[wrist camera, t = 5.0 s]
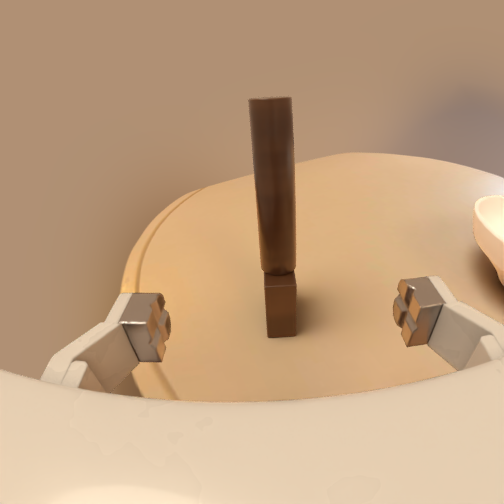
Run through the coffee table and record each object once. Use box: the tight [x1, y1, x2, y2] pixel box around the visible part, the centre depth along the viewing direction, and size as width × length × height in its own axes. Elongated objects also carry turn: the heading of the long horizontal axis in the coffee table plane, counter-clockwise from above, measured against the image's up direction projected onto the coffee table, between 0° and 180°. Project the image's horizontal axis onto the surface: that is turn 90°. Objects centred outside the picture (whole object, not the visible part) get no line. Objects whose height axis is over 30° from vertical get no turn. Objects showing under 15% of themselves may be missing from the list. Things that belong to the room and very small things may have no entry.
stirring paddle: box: [248, 97, 297, 337], centre depth 21 cm, size 5×3×17 cm, turn 179°
